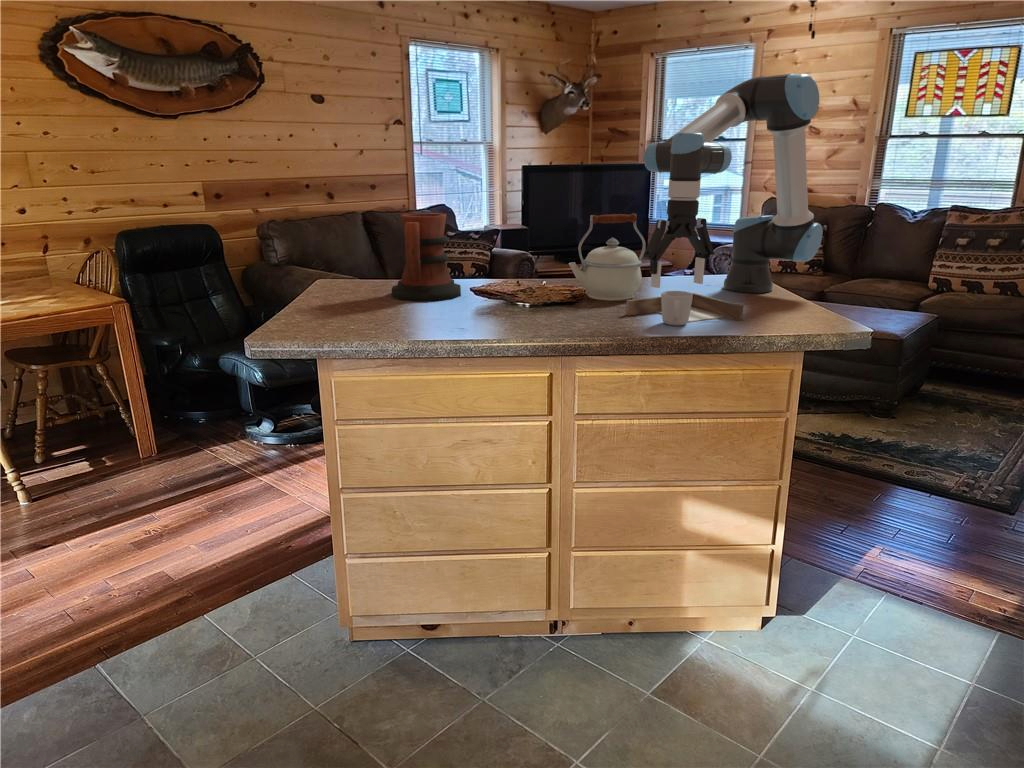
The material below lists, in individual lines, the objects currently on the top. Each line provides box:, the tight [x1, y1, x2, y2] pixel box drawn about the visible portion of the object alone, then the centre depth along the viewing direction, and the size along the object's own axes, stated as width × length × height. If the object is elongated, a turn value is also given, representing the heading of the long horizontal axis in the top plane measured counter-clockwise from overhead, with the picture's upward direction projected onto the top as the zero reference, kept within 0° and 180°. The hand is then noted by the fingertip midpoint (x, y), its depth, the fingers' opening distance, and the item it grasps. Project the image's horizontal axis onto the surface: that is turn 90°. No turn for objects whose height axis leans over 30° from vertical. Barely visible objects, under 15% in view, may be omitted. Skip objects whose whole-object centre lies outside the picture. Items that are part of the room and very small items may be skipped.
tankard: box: [391, 212, 462, 303], centre depth 224 cm, size 22×25×25 cm
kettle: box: [568, 212, 647, 302], centre depth 222 cm, size 25×18×25 cm
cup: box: [660, 290, 693, 326], centre depth 188 cm, size 11×8×8 cm
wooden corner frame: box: [625, 292, 745, 323], centre depth 197 cm, size 23×20×4 cm
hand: (677, 285), depth 186 cm, fingers open, 13 cm apart
